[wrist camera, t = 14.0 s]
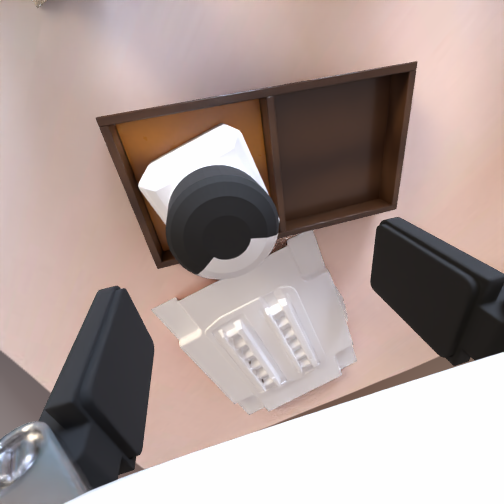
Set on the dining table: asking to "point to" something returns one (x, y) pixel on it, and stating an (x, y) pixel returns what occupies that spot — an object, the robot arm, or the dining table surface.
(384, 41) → the dining table surface
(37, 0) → the condiment
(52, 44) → the dining table surface
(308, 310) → the tray
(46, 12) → the dining table surface
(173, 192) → the medicine bottle
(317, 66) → the dining table surface
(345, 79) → the dark wooden divided tray
